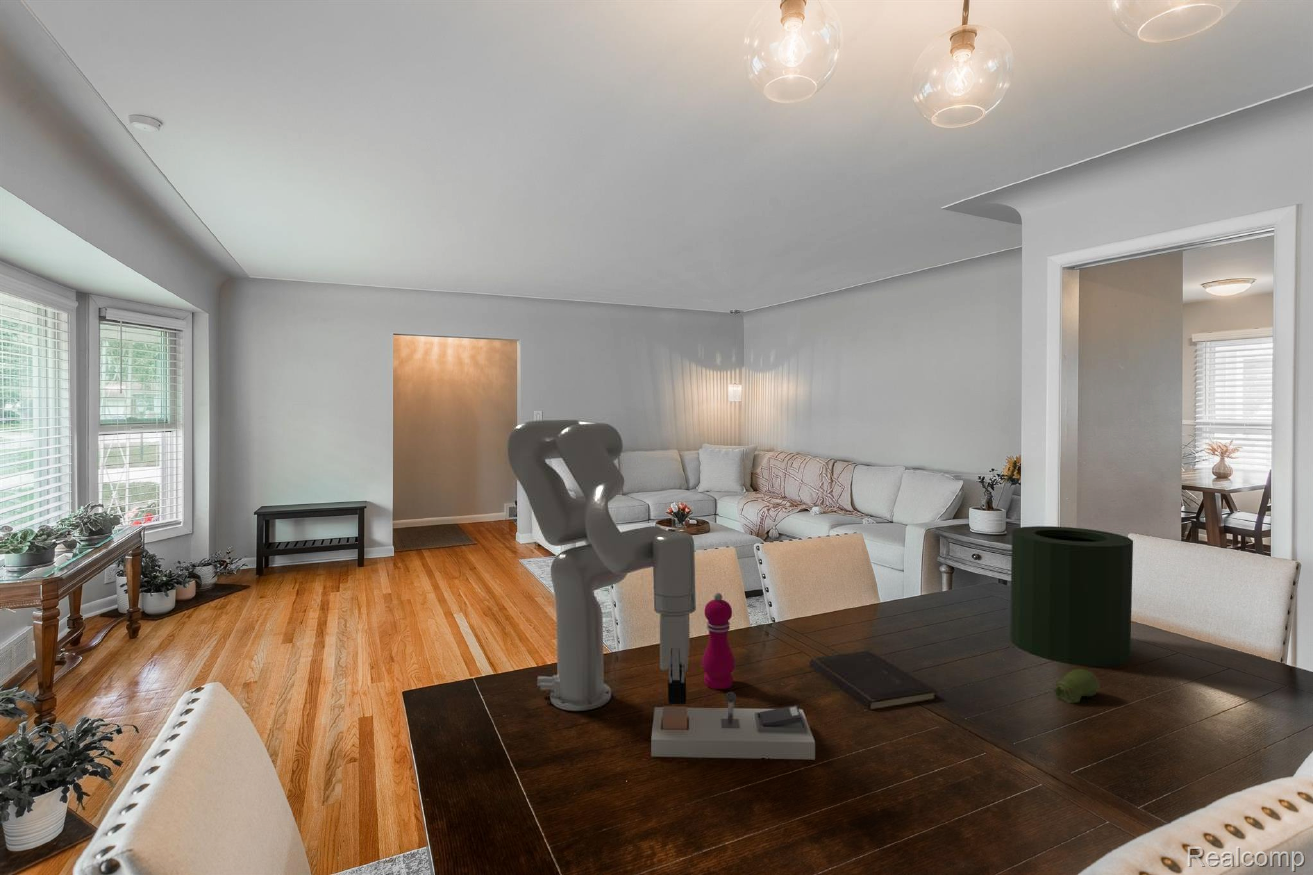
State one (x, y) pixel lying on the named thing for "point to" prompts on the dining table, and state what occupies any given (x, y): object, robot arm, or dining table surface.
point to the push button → (674, 718)
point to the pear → (1077, 686)
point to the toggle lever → (730, 705)
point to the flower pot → (1072, 595)
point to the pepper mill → (718, 645)
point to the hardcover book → (871, 679)
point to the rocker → (780, 716)
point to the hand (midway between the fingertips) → (677, 701)
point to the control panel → (731, 736)
